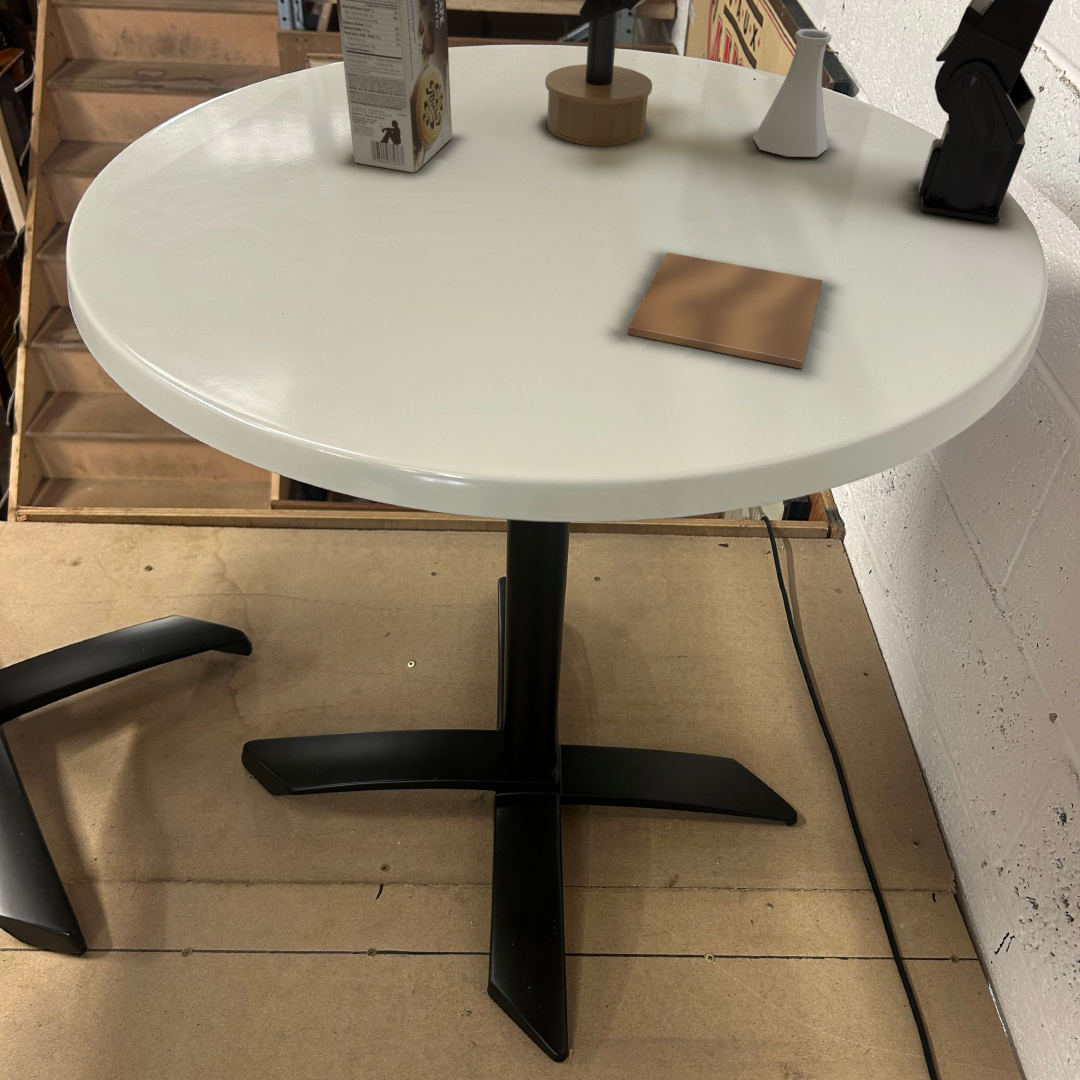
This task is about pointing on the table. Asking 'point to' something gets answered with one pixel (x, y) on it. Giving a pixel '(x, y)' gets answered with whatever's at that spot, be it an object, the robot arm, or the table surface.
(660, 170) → the table surface
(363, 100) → the coffee box
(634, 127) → the tin
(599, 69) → the tin lid
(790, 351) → the cork mat
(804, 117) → the flask
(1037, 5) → the robot arm
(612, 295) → the table surface
